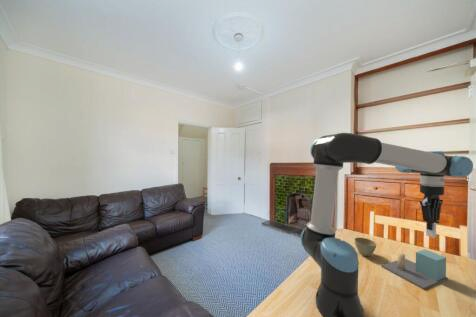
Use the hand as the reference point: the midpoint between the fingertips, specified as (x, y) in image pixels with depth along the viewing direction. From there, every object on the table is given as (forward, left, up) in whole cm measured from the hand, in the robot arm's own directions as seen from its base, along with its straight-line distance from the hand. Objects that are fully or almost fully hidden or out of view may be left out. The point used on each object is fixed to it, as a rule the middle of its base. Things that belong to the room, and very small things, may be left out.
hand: (431, 236), depth 82 cm
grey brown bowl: (-10, +23, -19) cm, 31 cm away
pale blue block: (0, 0, -18) cm, 18 cm away
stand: (-5, +4, -18) cm, 19 cm away
